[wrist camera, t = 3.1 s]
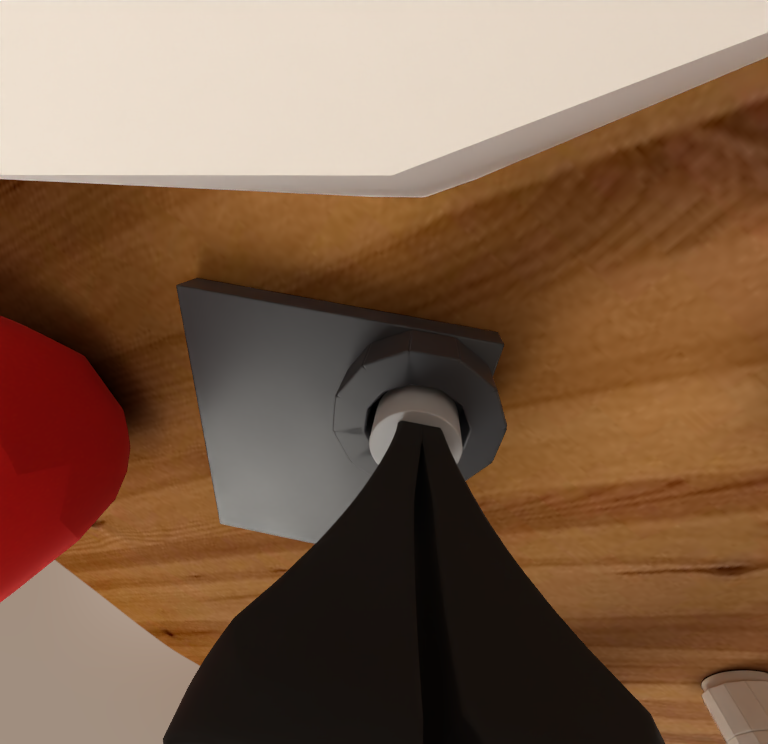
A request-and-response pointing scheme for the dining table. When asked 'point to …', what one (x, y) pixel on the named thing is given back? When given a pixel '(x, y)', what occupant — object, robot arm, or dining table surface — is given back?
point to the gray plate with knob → (319, 397)
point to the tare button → (415, 417)
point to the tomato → (52, 451)
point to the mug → (339, 86)
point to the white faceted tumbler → (738, 705)
